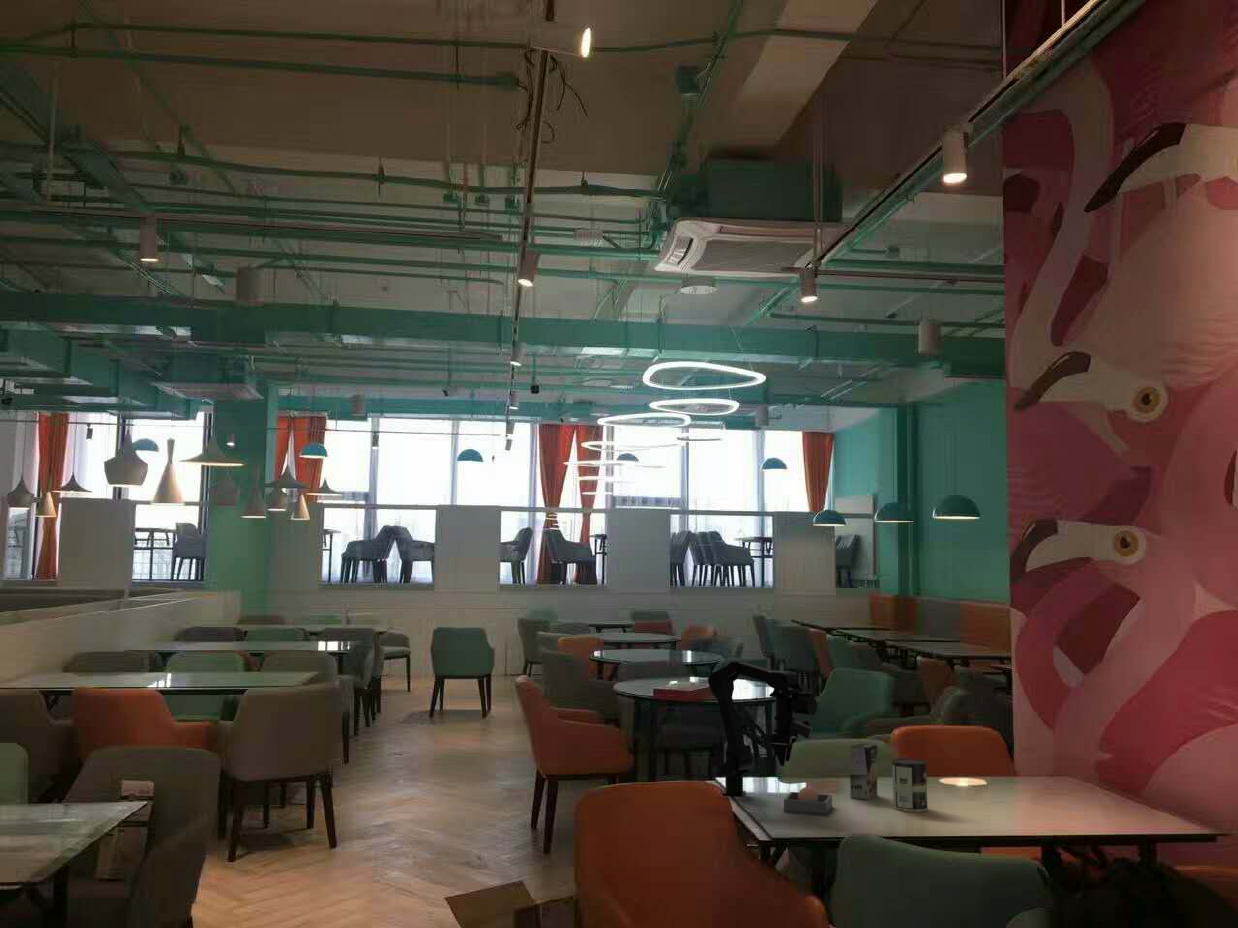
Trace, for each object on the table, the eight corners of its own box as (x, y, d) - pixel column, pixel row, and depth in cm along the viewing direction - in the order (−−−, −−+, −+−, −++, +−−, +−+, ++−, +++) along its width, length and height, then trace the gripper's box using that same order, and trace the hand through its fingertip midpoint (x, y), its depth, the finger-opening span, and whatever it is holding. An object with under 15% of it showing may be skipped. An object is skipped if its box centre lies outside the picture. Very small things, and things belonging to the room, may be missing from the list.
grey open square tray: (791, 803, 313) (790, 791, 313) (832, 806, 309) (831, 794, 309) (783, 811, 301) (783, 799, 302) (826, 814, 297) (826, 802, 298)
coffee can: (926, 805, 312) (924, 759, 314) (929, 812, 302) (928, 764, 304) (891, 804, 314) (890, 757, 316) (893, 811, 304) (892, 762, 306)
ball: (799, 804, 309) (799, 784, 310) (819, 805, 307) (819, 785, 308) (796, 808, 303) (796, 788, 304) (816, 810, 301) (816, 789, 302)
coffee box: (869, 800, 319) (868, 748, 321) (850, 797, 323) (849, 746, 325) (878, 795, 327) (877, 744, 329) (858, 793, 330) (858, 742, 332)
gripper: (805, 717, 305) (806, 770, 303) (814, 710, 323) (815, 760, 321) (769, 715, 309) (769, 767, 307) (780, 708, 326) (780, 758, 325)
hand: (785, 763), depth 315 cm, fingers open, 9 cm apart
